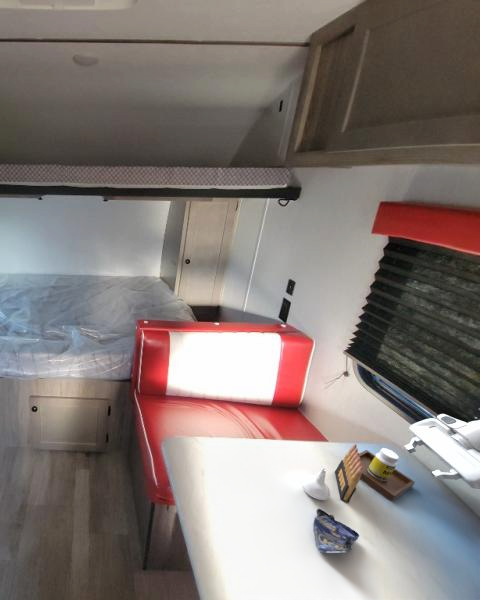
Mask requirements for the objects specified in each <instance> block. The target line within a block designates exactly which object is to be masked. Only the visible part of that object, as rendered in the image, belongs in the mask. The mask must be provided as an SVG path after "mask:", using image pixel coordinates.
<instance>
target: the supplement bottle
mask: <svg viewBox="0 0 480 600" xmlns="http://www.w3.org/2000/svg"><path fill="white" fill-rule="evenodd" d="M374 455H375V457H374V459H373V460H372V462H371V464H370V465H369V467H368V472H369V473H370V474H371V475H372V476H373V477H375V478H376V479H378V480H381V481H387V480H388V478H389V477H390V475H391V474H392V472H393V470H394V469H396V468H397V465H398V464H397V463H398V461H399V459H400V458H399V457H400V456H399V455H398V454H397V453H396V452H394V451H393V450H391V449H389V448H386V447H382V448H380V450H379V452H377V453H375V454H374Z"/></svg>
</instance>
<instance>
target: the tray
mask: <svg viewBox="0 0 480 600" xmlns="http://www.w3.org/2000/svg"><path fill="white" fill-rule="evenodd" d="M358 453H359V457H360V459H361V460H360V461H361V462H362V466H363V472H362V475H361V477H360V480H361V481H362V482H364V483H365V484H366V485H368V486H369V487H371V488H372V489H373V490H375V491H376V492H378V493H379V494H381V495H382V496H383V497H384V498H385V499H387V500H388V501H390V502H393V501H394V500H396V499H397V498H398V497H400V496H402V495H403V494H404V493H406V492H407V491H409V490H410V489H411V488H413V487H414V485H415V483H416V481H415V480H413V479H411V478H410V477H408V476H407V475H406V474H404V473H403V472H401V471H399V470H398V469H397V468H395V469H394V470H393V472H392V474H391V475H390V477H389V478H388V480H387V481H381V480H378V479H376V478H375V477H373V476H372V475H371V474H370V473H369V472H368V467H369V465H370V464H371V462H372V460H373V459H374V457H375V455H376V454H374V453H372V452H371V451H369V450H368V449H365V450H364V451H362V452H358Z"/></svg>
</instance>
